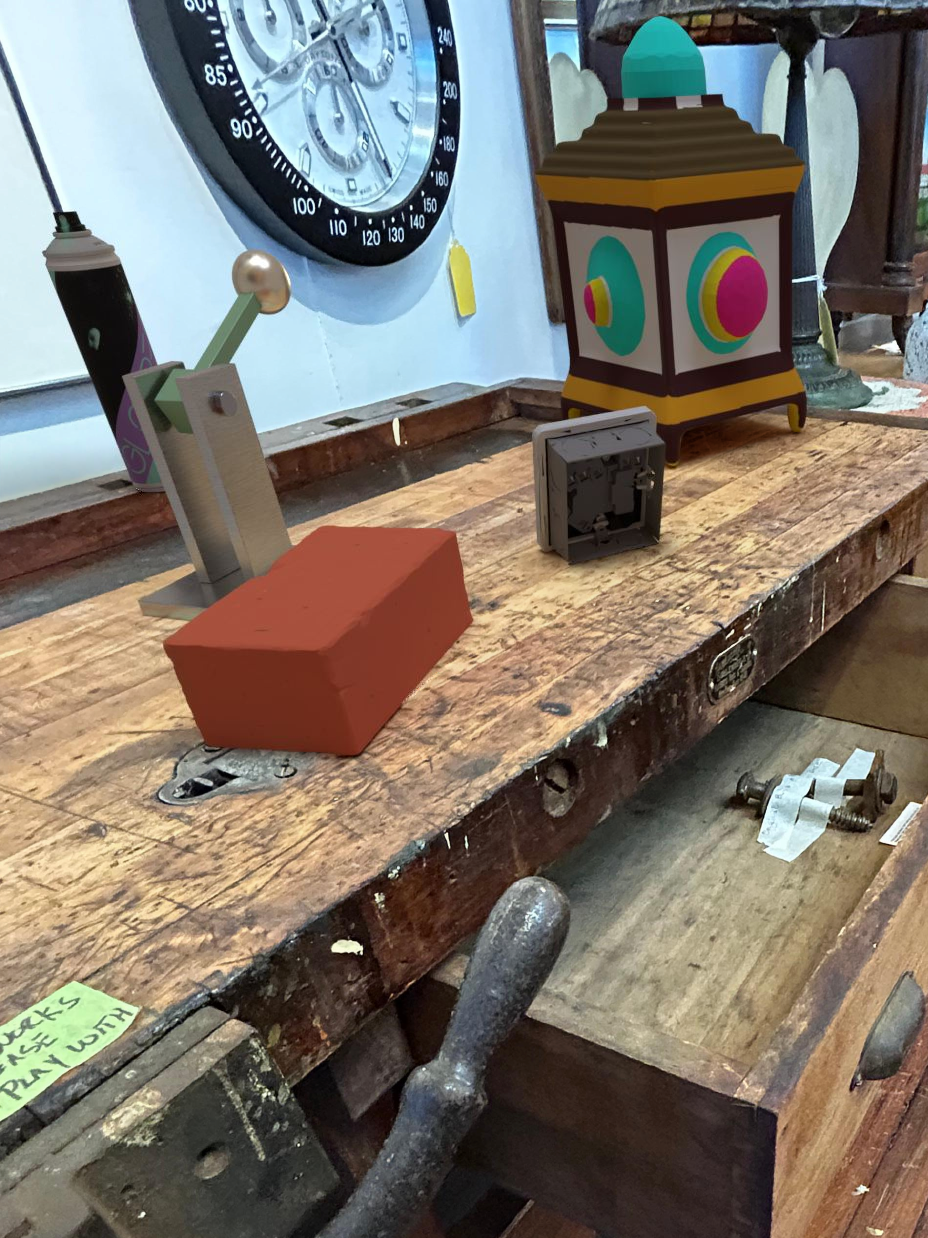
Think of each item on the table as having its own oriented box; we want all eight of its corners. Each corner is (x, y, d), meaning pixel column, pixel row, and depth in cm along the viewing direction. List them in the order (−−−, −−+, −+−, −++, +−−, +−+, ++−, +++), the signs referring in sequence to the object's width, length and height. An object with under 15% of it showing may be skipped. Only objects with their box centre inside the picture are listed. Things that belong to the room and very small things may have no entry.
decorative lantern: (544, 436, 102) (485, 24, 82) (696, 399, 111) (677, 22, 91) (669, 475, 90) (636, 7, 70) (827, 431, 100) (838, 7, 80)
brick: (358, 758, 54) (323, 649, 50) (203, 749, 55) (157, 642, 51) (476, 622, 67) (456, 527, 63) (348, 617, 69) (321, 524, 65)
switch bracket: (257, 557, 78) (186, 347, 69) (357, 566, 76) (298, 351, 67) (144, 618, 70) (46, 388, 60) (254, 631, 67) (170, 394, 58)
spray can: (144, 496, 91) (34, 216, 78) (127, 483, 94) (18, 212, 81) (206, 483, 93) (110, 209, 80) (187, 470, 97) (91, 205, 83)
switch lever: (266, 290, 71) (234, 236, 68) (309, 291, 70) (279, 236, 67) (176, 441, 66) (137, 391, 63) (222, 443, 65) (184, 393, 62)
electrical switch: (646, 527, 80) (640, 397, 74) (679, 552, 77) (675, 419, 71) (536, 553, 77) (519, 419, 70) (566, 580, 74) (551, 443, 67)
